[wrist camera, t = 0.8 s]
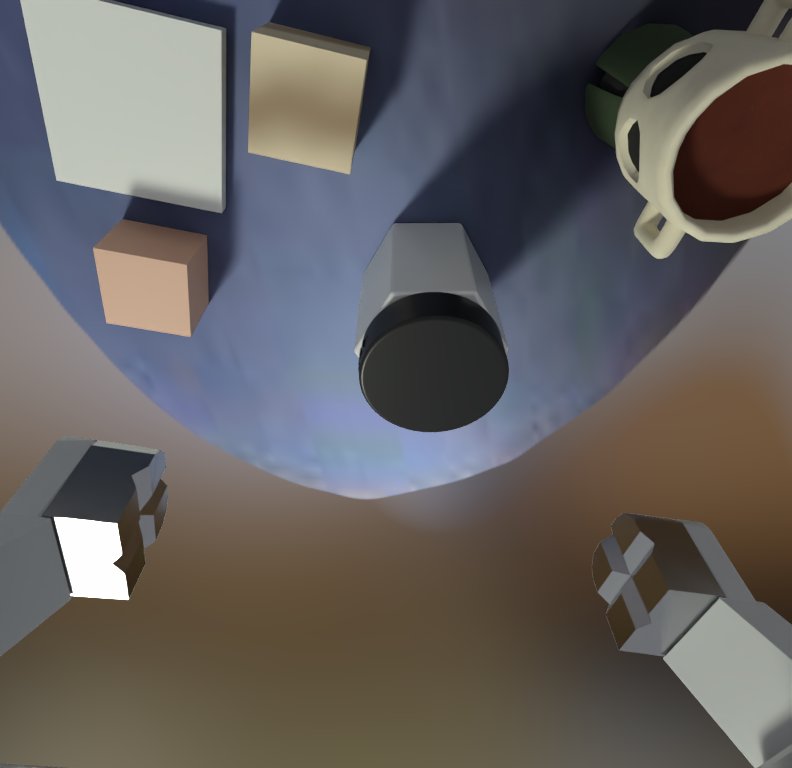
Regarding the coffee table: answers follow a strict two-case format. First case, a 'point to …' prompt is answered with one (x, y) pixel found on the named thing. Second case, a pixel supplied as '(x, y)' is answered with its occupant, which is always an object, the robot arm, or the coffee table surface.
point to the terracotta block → (153, 277)
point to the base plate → (132, 99)
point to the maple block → (305, 96)
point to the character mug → (701, 127)
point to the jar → (429, 330)
